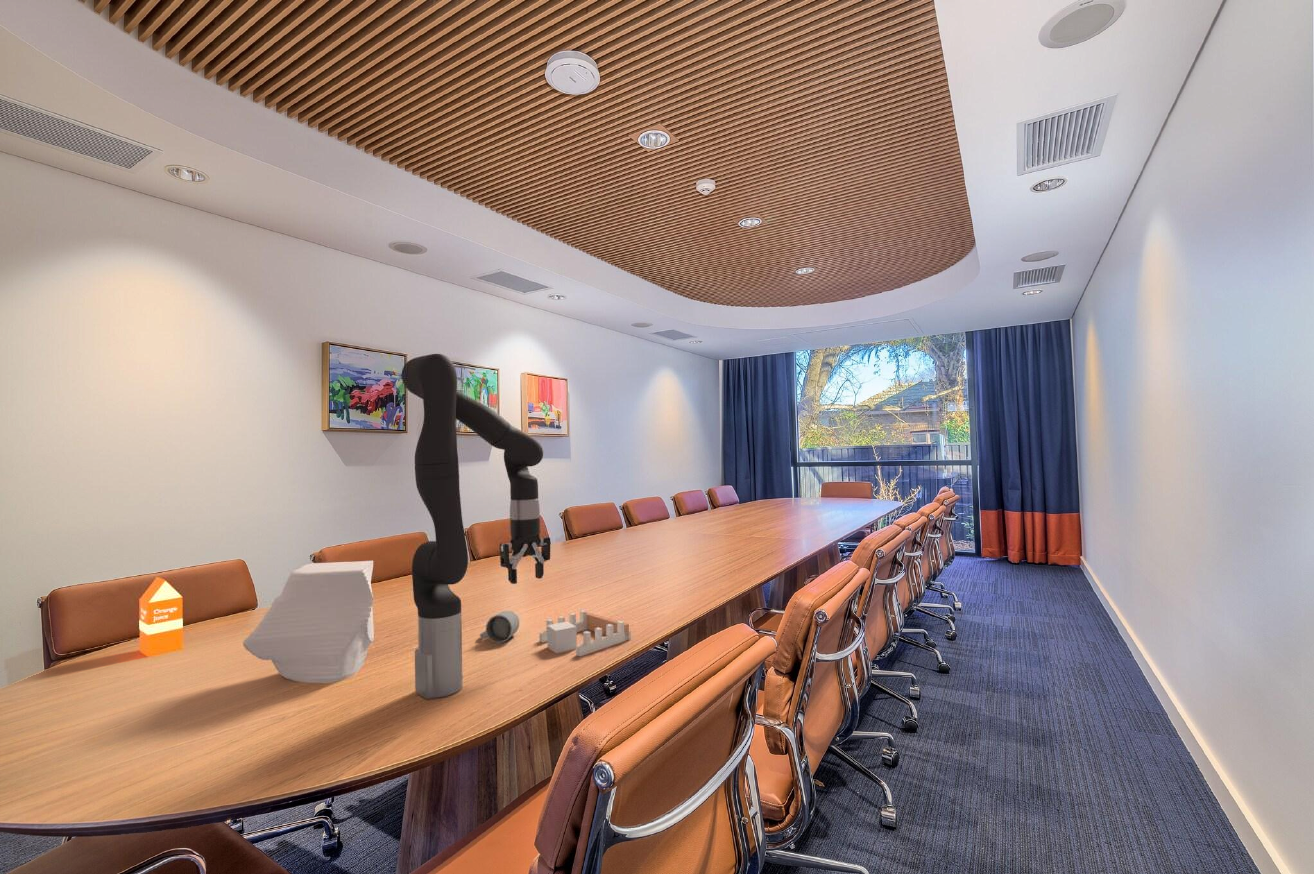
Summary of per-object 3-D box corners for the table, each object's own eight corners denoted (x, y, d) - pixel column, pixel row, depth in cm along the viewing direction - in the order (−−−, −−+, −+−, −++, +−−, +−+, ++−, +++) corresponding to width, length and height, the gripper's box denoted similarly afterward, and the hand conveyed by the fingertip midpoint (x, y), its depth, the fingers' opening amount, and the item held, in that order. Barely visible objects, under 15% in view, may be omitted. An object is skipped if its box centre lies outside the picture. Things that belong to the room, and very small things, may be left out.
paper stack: (358, 684, 136) (356, 573, 137) (239, 688, 135) (238, 577, 136) (395, 652, 157) (393, 556, 158) (292, 656, 156) (291, 559, 157)
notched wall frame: (580, 656, 151) (579, 635, 151) (539, 641, 164) (539, 622, 164) (630, 639, 164) (630, 619, 164) (589, 626, 177) (589, 608, 177)
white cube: (576, 649, 157) (576, 626, 158) (556, 653, 154) (555, 630, 154) (567, 643, 162) (567, 621, 163) (547, 647, 159) (547, 625, 159)
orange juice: (147, 657, 158) (147, 583, 159) (139, 651, 163) (138, 579, 164) (183, 648, 164) (183, 577, 165) (174, 643, 170) (173, 573, 170)
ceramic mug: (521, 633, 171) (520, 607, 171) (512, 643, 163) (511, 615, 163) (486, 634, 172) (485, 608, 172) (475, 643, 164) (474, 616, 164)
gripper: (508, 520, 143) (509, 588, 143) (556, 514, 153) (558, 577, 153) (492, 518, 149) (493, 583, 148) (540, 512, 159) (541, 573, 159)
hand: (526, 580), depth 151 cm, fingers open, 7 cm apart
